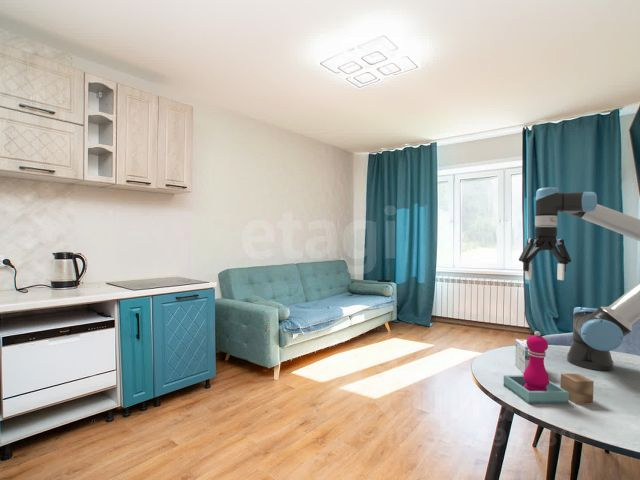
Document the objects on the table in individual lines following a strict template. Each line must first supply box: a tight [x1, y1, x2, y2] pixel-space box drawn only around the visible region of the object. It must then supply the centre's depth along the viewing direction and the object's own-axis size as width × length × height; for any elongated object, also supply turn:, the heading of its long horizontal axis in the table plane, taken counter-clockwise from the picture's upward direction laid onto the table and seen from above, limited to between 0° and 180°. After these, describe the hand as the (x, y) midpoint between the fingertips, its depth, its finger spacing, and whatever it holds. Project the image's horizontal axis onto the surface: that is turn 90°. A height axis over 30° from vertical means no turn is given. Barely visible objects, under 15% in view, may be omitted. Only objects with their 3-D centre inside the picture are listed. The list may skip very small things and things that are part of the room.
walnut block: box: [559, 373, 595, 405], centre depth 111 cm, size 6×6×7 cm
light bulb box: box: [514, 338, 530, 375], centre depth 134 cm, size 11×7×11 cm, turn 168°
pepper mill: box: [523, 330, 550, 391], centre depth 113 cm, size 7×7×20 cm
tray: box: [502, 374, 570, 405], centre depth 113 cm, size 13×13×4 cm
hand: (544, 279), depth 139 cm, fingers open, 13 cm apart
